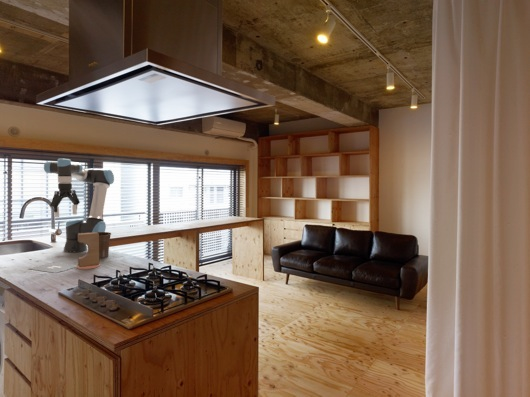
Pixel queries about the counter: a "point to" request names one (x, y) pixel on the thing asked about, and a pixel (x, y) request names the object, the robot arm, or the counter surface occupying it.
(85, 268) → the coaster
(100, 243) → the plant pot
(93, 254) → the decorative block
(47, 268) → the tile
